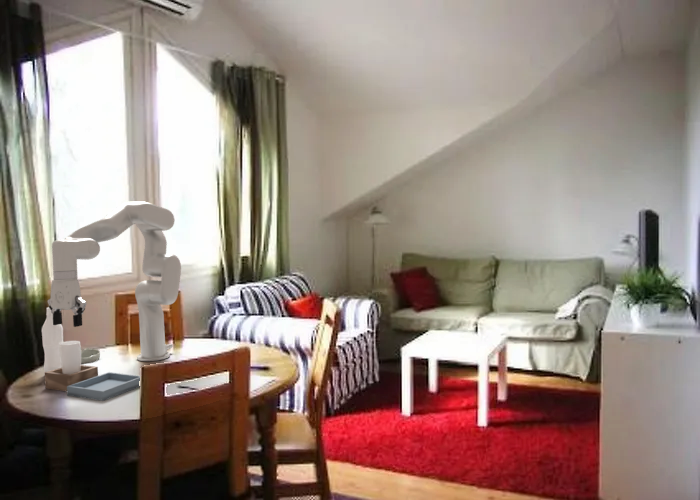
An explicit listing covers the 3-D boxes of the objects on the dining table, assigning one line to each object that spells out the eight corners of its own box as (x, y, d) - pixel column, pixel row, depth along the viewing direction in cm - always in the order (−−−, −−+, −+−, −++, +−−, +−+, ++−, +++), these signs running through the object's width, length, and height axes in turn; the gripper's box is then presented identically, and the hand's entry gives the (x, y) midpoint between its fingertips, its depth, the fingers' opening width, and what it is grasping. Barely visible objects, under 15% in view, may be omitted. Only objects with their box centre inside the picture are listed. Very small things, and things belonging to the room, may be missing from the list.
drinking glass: (65, 382, 217) (63, 340, 216) (85, 381, 218) (83, 340, 216) (58, 388, 210) (55, 345, 209) (79, 387, 211) (76, 344, 210)
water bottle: (70, 372, 231) (66, 306, 229) (55, 377, 224) (51, 309, 222) (55, 371, 233) (50, 305, 231) (39, 376, 226) (35, 309, 225)
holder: (74, 378, 222) (73, 363, 221) (98, 382, 217) (97, 366, 216) (45, 388, 211) (44, 372, 211) (70, 391, 206) (69, 375, 206)
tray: (109, 380, 219) (109, 372, 219) (144, 384, 212) (143, 376, 212) (67, 395, 202) (66, 386, 202) (103, 400, 196) (103, 391, 196)
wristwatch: (94, 357, 254) (93, 345, 254) (104, 359, 251) (103, 347, 250) (74, 362, 246) (73, 350, 246) (85, 364, 243) (84, 352, 243)
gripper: (38, 276, 211) (40, 325, 212) (74, 277, 204) (77, 328, 205) (56, 274, 218) (58, 322, 219) (92, 275, 211) (94, 325, 212)
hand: (67, 325), depth 212 cm, fingers open, 9 cm apart
